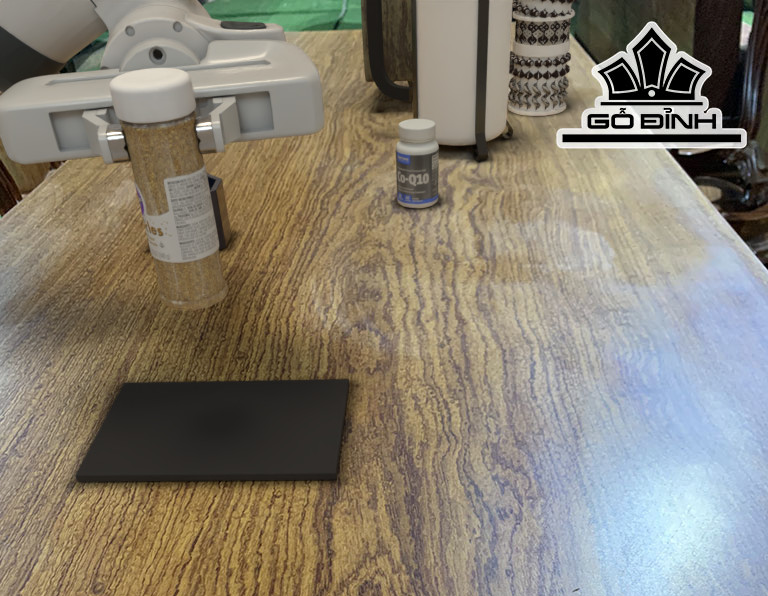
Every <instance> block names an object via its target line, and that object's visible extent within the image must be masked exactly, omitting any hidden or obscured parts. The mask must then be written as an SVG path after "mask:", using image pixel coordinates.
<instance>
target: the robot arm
mask: <svg viewBox="0 0 768 596" xmlns="http://www.w3.org/2000/svg"><path fill="white" fill-rule="evenodd" d="M107 31H108V38H107V41H106V44H105V48H104V51H103V55H102V57H101V60H100V65H99V69H96V70H87V71H86V70H85V71H77V72H65V73H59V72H61V70H63V69H64V67H66V66H67V64H68V61H69V60H70V59H72V58H73V57H75V55H77V54H79V52H81V51H82V50H83V49H85V48H86V47H88V46H89V45H90V44H91V43H93V42H94V41H95V40H97V39H98V38H99V37H101V36H102V35H103V34H104V33H106V32H107ZM150 68H175V69H180V70H183V71H185V72H187V73H188V74H189V76H190V78H191V82H192V86H193V91H194V96H195V102H196V108H195V110H194V111H195V112H196V117H195V127H196V132H197V137H198V138H199V149H200V153H201V154H202V155H209V154H217V153H218V154H219V153H225V152H226V147H225V146H227V145H229V144H234V143H244V142H253V141H264V140H272V139H273V140H274V139H283V138H293V137H304V136H311V135H315V134H317V133H320V132H321V131H322V130H324V128H325V109H324V98H323V97H324V96H323V87H322V81H321V74H320V71H319V70H318V67H317V65H316V64H315V62H314V61H313V60H312V58H311V56H309V55H308V54H307V52H305V50H304V49H303V48H301V47H300V46H299V45H297V44H295V43H292V42H290V41H287V38H286V33H285V30H284V27H283V26H282V25H280V24H278V23H275V22H274V23H273V22H261V21H238V20H237V21H236V20H220V19H215V18H212V17H211V15H210V14H209V12H208V11H207V9H206V8H205V7H204V6H203V5H202V3H201V2H200V1H199V0H0V93H1V92H2V93H1V94H0V140H1V143H2V146H3V148H4V152H5V153H6V156H7V157H8V158H9V160H11V161H13V162H15V163H18V164H20V165H34V164H45V163H54V162H63V161H64V162H65V161H73V160H82V159H91V158H93V159H94V158H100V157H101V158H102V160H103V163H104V164H105V165H106V166H107V165H114V164H115V165H116V164H122V163H131V161H130V156H129V152H128V148H127V143H126V140H125V136H124V131H123V128H122V126H121V124H120V122H119V120H120V119H119V118H118V117H117V116H116V114H115V110H114V106H113V102H112V97H111V93H110V87H109V86H110V82H111V81H112V79H114V78H115V77H117V76H119V75H122V74H124V73H127V72H131V71H136V70H141V69H150Z"/></svg>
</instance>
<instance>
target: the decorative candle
mask: <svg viewBox="0 0 768 596" xmlns="http://www.w3.org/2000/svg"><path fill="white" fill-rule="evenodd" d="M577 1H578V0H513V3H512V8H514V10H512V19H515V26H514V38H513V40H512V51H513V53H512V54H511V56H510V60H511V61H512V62H513V63H514V65H512V64H511V65H512V66H511V67H510V70H509V74H511V75H512V77H511V78H509V85H508V89H509V91H508V101H509V103H508V104H507V111H510V112H511V113H513V114H516V115H521V116H528V117H530V116H531V117H540V116H541V117H542V116H551V115H557V114H559V113H562V112H564V111H565V110H566V109H567V103H566V100H567V99H568V98H569V97H568V91H567V89H568V88H569V86H570V84H569V83H570V81H569V79H568V78H567V76H566V75H567V74H568V73H570V71H571V68H570V65H569V64H568V63H569V62H570V61H571V59H572V54H571V53H570V51H571V38H570V35H571V23H572V22H571V21H572V18H573V17H575V16H576V12H575V10H574V9H573V8H572V5H573V4H574V3H576V2H577Z"/></svg>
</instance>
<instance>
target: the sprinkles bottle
mask: <svg viewBox="0 0 768 596" xmlns="http://www.w3.org/2000/svg"><path fill="white" fill-rule="evenodd" d="M109 87H110V93H111V97H112V102H113V106H114V110H115V114H116V116H117V117H118V118H119V119H120V120H119V122H120V124H121V126H122V128H123V131H124V136H125V140H126V143H127V148H128V152H129V156H130V161H131V162H130V165H131V171H132V175H133V179H134V180H133V182H134V186H135V189H136V190H135V191H136V195H137V198H138V202H139V207H140V211H141V216H142V220H143V224H144V229H145V233H146V237H147V243H148V246H149V251H150V254H151V256H152V259H153V263H154V269H155V273H156V277H157V280H158V285H159V298H160V301H161V303H162V304H163V305H165V306H166V307H167V308H170V309H173V310H175V311H197V310H201V309H205V308H209V307H211V306H214V305H217V304H219V303H220V302H222V301H223V300H224V299H225V298H226V297H227V295H228V292H229V285H228V282H227V281H226V280H225V275H224V269H223V264H222V258H221V253H220V250H219V240H218V234H217V228H216V223H215V217H214V211H213V206H212V200H211V195H210V189H209V184H208V178H207V173H208V172H207V168H206V167H207V166H206V163H205V161H204V156H203V154H201V153H200V149H199V138H198V137H197V132H196V127H195V117H196V112H195V111H194V110H195V108H196V102H195V96H194V91H193V86H192V82H191V78H190V76H189V74H188V73H187V72H185V71H183V70H180V69H175V68H150V69H141V70H136V71H131V72H127V73H124V74H122V75H119V76H117V77H115V78H114V79H112V81H111V82H110V86H109Z"/></svg>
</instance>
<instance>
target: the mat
mask: <svg viewBox="0 0 768 596" xmlns="http://www.w3.org/2000/svg"><path fill="white" fill-rule="evenodd" d="M349 389H350V380H349V378H334V379H329V378H327V379H324V378H323V379H267V380H265V379H262V380H201V381H197V380H196V381H195V380H193V381H144V382H143V381H142V382H141V381H139V382H138V381H137V382H131V381H130V382H123V384H122V385H121V387H120V389H119V391H118V393H117V395H116V397H115V399H114V401H113V402H112V404H111V406H110V409H109V410H108V412H107V414H106V416H105V418H104V420H103V422H102V423H101V425H100V427H99V429H98V431H97V433H96V436H95V437H94V439H93V440H92V443H91V445H90V446H89V448H88V450H87V452H86V454H85V455H84V458H83V460H82V462H81V464H80V465H79V467H78V469H77V471H76V473H75V479H76V481H77V482H78V483H93V482H95V483H96V482H97V483H98V482H100V483H101V482H102V483H103V482H107V483H108V482H113V483H114V482H214V481H215V482H216V481H217V482H218V481H221V482H223V481H225V482H226V481H227V482H228V481H231V482H232V481H233V482H234V481H331V480H332V481H333V480H337V478H338V471H339V464H340V457H341V450H342V442H343V435H344V426H345V420H346V413H347V405H348V397H349Z"/></svg>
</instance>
